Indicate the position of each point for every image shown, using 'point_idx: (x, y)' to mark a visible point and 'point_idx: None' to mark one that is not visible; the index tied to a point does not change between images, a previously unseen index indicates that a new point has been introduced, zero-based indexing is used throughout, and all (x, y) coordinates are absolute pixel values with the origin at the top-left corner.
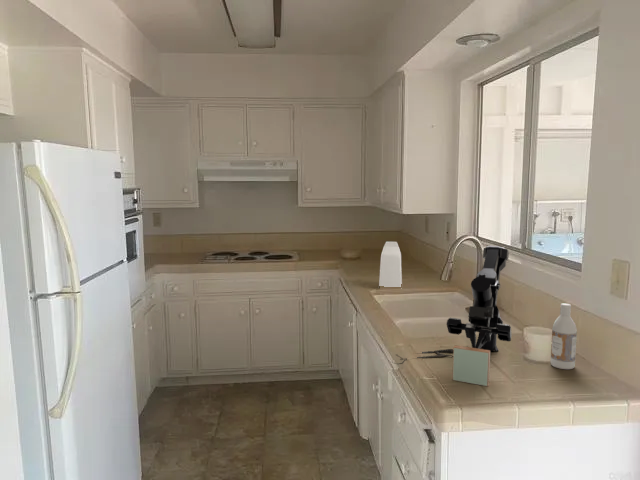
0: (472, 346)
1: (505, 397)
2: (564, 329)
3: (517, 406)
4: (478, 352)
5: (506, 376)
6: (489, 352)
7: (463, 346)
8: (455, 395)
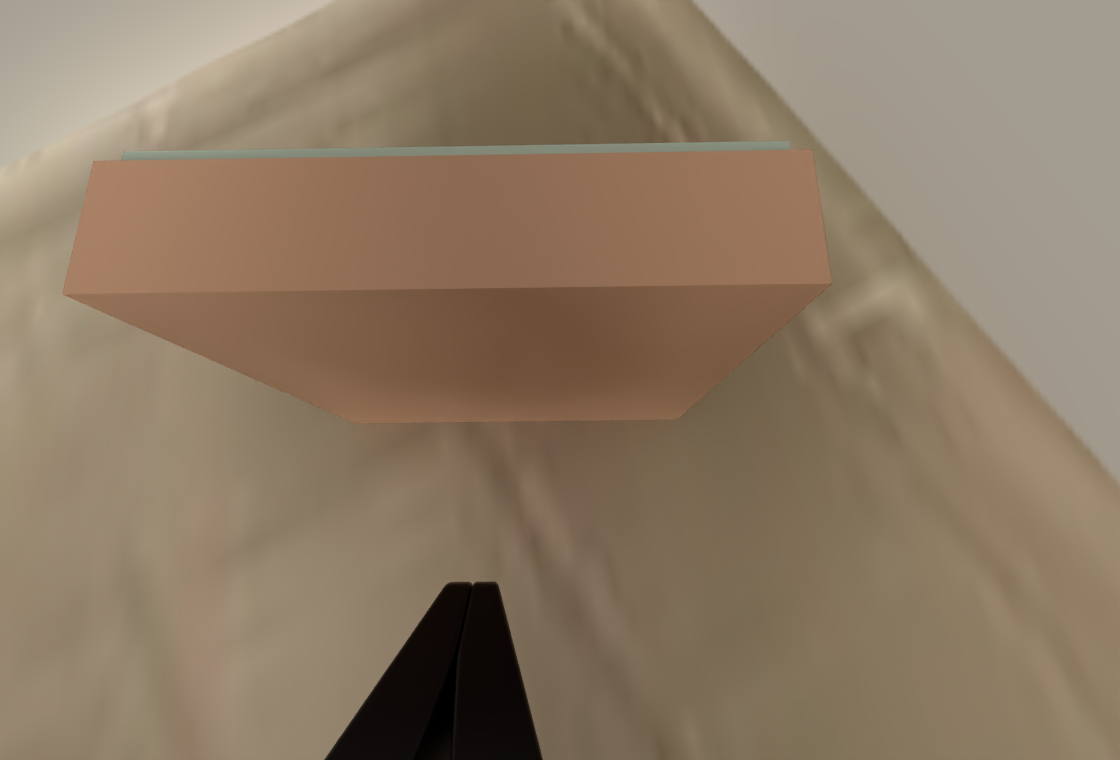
0: (508, 673)
1: None
2: None
3: (142, 104)
4: (313, 156)
5: (188, 721)
6: (94, 193)
7: (639, 286)
8: (571, 84)
